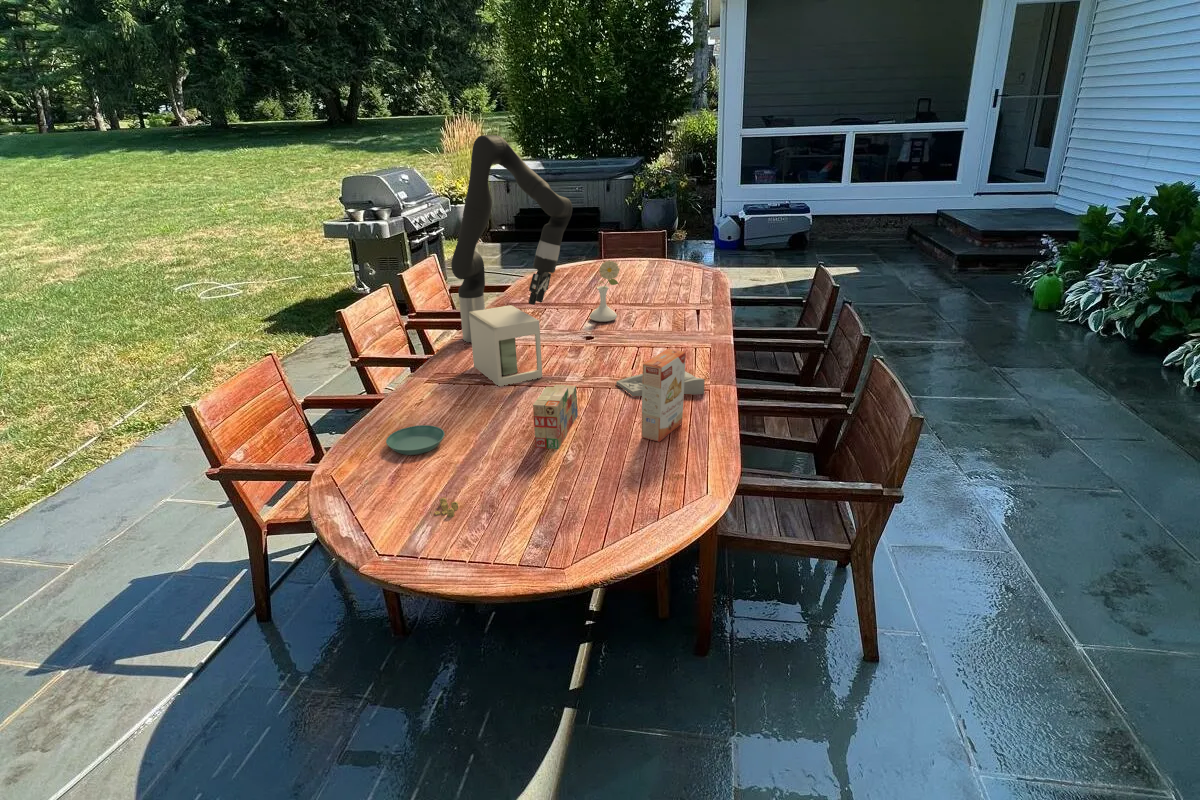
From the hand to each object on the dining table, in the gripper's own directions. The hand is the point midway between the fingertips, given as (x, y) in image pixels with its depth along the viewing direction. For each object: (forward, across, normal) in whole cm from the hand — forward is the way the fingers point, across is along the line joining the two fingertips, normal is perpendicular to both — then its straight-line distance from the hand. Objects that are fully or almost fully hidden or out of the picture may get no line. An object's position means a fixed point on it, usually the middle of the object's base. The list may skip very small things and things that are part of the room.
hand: (535, 303), depth 229 cm
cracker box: (+15, +48, +56) cm, 75 cm away
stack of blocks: (+23, +53, +29) cm, 64 cm away
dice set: (+33, +95, +18) cm, 102 cm away
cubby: (+23, +12, 0) cm, 25 cm away
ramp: (+12, +19, +50) cm, 55 cm away
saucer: (+34, +67, -3) cm, 75 cm away
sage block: (+23, +12, 0) cm, 26 cm away
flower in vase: (+7, -52, +17) cm, 55 cm away
